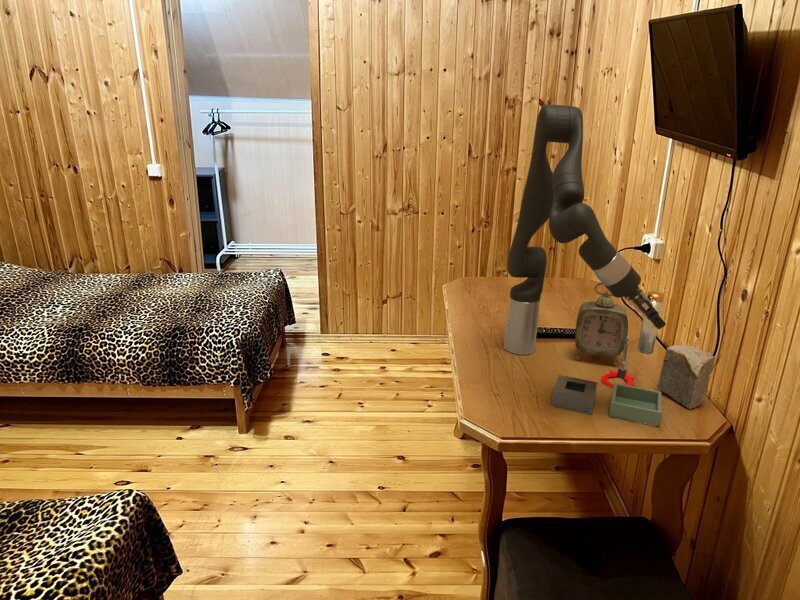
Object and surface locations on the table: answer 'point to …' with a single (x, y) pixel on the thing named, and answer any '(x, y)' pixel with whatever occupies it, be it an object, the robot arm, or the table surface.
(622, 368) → the tow hook
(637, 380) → the table surface
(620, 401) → the tray
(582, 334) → the tabletop clock
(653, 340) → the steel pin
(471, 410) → the table surface
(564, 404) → the block
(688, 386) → the geological specimen
